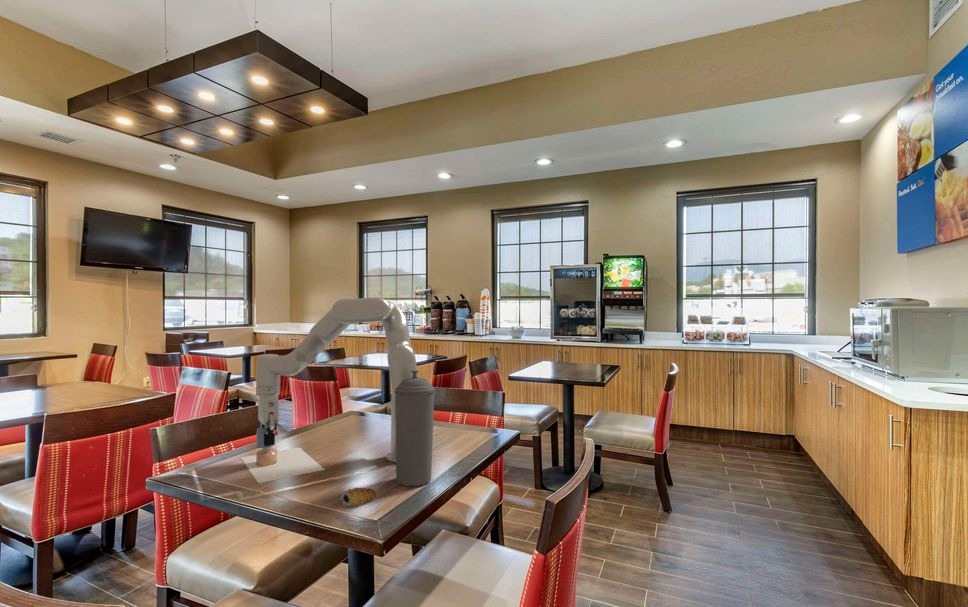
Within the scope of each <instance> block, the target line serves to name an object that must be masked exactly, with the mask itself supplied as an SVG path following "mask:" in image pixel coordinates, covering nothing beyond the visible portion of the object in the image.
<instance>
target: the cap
mask: <svg viewBox="0 0 968 607" xmlns="http://www.w3.org/2000/svg"><path fill="white" fill-rule="evenodd" d="M268 427H270V426H267V429H268ZM264 434H265V427H260V426H259V427H258V428H256V433H255V437H256V438H255V447H256V449H263V448H268V447H271V448H272V447H274V446H276V443H275V444H274V445H269V446H264Z"/></svg>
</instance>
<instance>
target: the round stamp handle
mask: <svg viewBox="0 0 968 607" xmlns="http://www.w3.org/2000/svg"><path fill="white" fill-rule="evenodd" d="M277 451H278V450H277V449H276V448H272V447H268V448H262V449H261V450H257V452H256V453H255V455H256V465H257V466H270V465H274V464H276V463H277Z"/></svg>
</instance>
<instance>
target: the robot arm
mask: <svg viewBox="0 0 968 607" xmlns="http://www.w3.org/2000/svg"><path fill="white" fill-rule="evenodd" d="M379 322H380V323H381V324H382V326H383V328H384V334H385V338H386V345H387V356H386V357H387V359H386V360H387V364H388V371H389V378H390V391H391V395H390V396H391V403H390V404H391V410H390V411H391V412H390V414H391V415H390V417H391V419H390V451H389V452H388V453H387V454H386V455H385V456H386V458H385V459H386V460H388V461H389V462H391V463H395V464H396V426H395V389H396V388H397V387H398V385H399V384H400V383H401V382H402V381H403V380H404V379H406V378H412V376H413V373H412V372H411V370H418V367H417V359H416V358H417V357H416V354H415V350H414V349H413V346H412V342H411V336H410V332H409V326H408V320H407V319H406V316H405V314H404V312H403V311H402V309H401V308H400V307H399V306H398V305H397V304H395V303H394V302H392V301H389V300H388V299H385V298H384V297H361V298H341V299H338V300H336V302H334V304H333V305H332V307H331V309H330V310H328V312H327V313H326V314H325V315H324V316H322V318H320V320H318V321H317V322H316V323H315V324H314V325H313V326H312V327H311V328H310V331H309V332H308V334H307V336H306V337H305V338H304V340H303V341H301V342H300V344H298V346H297V347H295V348H294V349H293V350H292V351H291V352H289V353H288V354H285V355H279V354H277V353H276V354H275V353H267V354H266V353H265V354H260V355H258V356H257V358H256V363H255V364H256V367H255V368H256V370H255V371H256V373H255V375H256V376H255V378H256V379H255V381H256V382H255V396H257V397H258V407H257V408H258V409H257V417H258V418H257V419H258V421H259V423H260V424H259V425H260V426H259V428H260V427H265V434H264V446H269V445H274V444H275V445H276V429H275V427H276V426H275V425H278V424H280V406H279V405H280V402H279V395H280V394H281V376H283V377H293V376H296V375H298V374H299V373H301V372H302V371H303V370H305V369H306V368H307V367H308V365H310V363H312V362H313V360H315V359H316V358H317V357H318V356H319V354H321V353H322V352H323V351H324V350H325V349H326V348H328V347H329V346H330V345H331V344H332V343H333V342H334V341H335V340H336V339H337V338H338V337H339V336H340V335H341V334H342V333H343V332H345V330H346V329H347V328H349V326H350V325H351V324H363V323H379ZM417 377H419V372H417ZM267 426H270V427H268V429H267ZM275 445H274V446H275Z"/></svg>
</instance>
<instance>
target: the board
mask: <svg viewBox="0 0 968 607" xmlns="http://www.w3.org/2000/svg"><path fill="white" fill-rule="evenodd" d="M240 458H241V460H242V462H243V463H244V464H245V467H246V468H247V469H248V470H249V472H250V474H251V475H252V476H253V478H254V480H256V482H257V483H258V484H262V483H266V482H272V481H276V480H281V479H286V478H292V477H295V476H301V475H305V474H311V473H315V472H316V473H317V472H320V471H325V470H326V468H324V467H323V466H322V465H321V464H319V462H318V461H315V460H314V459H313V458H312V457H311V456H310V455H309V454H308V453H306V451H304V450H303V449H302V448H300V447H294V448H288V449H287V448H286V449H282V450H277V463H276V464H274V465H270V466H257V465H256V454H254V455H253V454H252V455H248V456H247V455H246V456H242V457H240Z"/></svg>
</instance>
